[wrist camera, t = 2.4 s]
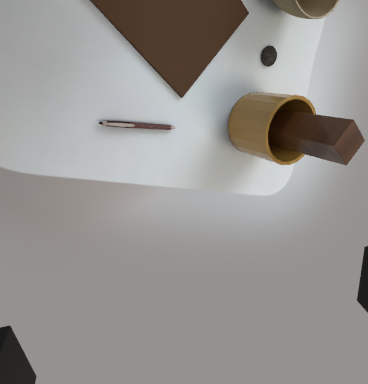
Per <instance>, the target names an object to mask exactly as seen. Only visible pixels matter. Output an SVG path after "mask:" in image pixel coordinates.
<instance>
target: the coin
mask: <svg viewBox="0 0 368 384" xmlns="http://www.w3.org/2000/svg"><path fill="white" fill-rule="evenodd" d="M276 58H277V52H276V49H275V48H274V47H273V46H267V47H266V48H265V49H264V50H263V52H262V62H263V64H264V65H266V66H271V65H273V64H274V63H275V61H276Z"/></svg>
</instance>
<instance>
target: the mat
mask: <svg viewBox="0 0 368 384" xmlns="http://www.w3.org/2000/svg"><path fill="white" fill-rule="evenodd" d="M91 1H92V2H93V4H94V5H95V6H96V7H97V8H98V9H99V10H100V11H101V12H102V13H103V14H104V15H105V16H106V17H107V19H108V20H109V21H110V22H111V23H112V24H113V25H114V26H115V27H116V28H117V29H118V30H119V31H120V32H121V34H122V35H123V36H124V37H125V38H126V39H127V40H128V41H129V42H130V43H131V44H132V45H133V46H134V47H135V49H136V50H137V51H138V52H139V53H140V54H141V55H142V56H143V57H144V58H145V59H146V60H147V61H148V62H149V64H150V65H151V66H152V67H153V68H154V69H155V70H156V71H157V72H158V73H159V74H160V75H161V76H162V78H163V79H164V80H165V81H166V82H167V83H168V84H169V85H170V86H171V87H172V88H173V89H174V90H175V91H176V93H177V94H178V95H179V96H180V97H183V96H184V95H185V94H186V92H187V91H188V90H189V88H190V87H191V86H192V85H193V83H194V82H195V81H196V80H197V78H198V77H199V76H200V75H201V73H202V72H203V71H204V69H205V68H206V67H207V66H208V64H209V63H210V62H211V61H212V59H213V58H214V57H215V56H216V54H217V53H218V52H219V50H220V49H221V48H222V47H223V45H224V44H225V43H226V42H227V40H228V39H229V38H230V36H231V35H232V34H233V33H234V31H235V30H236V29H237V28H238V26H239V25H240V24H241V23H242V21H243V20H244V19H245V17H246V16H247V15H248V14H249V12H248V11H247V9H246V8H245V6H244V4H243V3H242V1H241V0H91Z"/></svg>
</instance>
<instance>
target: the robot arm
mask: <svg viewBox="0 0 368 384" xmlns="http://www.w3.org/2000/svg"><path fill="white" fill-rule="evenodd" d="M357 301H358V302H359V303H360V304H361V305H362V307H363V308H364V309H365V310H366V311H367V312H368V246H367V247H365V250H364V256H363V263H362V270H361V277H360V284H359V291H358V298H357ZM35 380H36V375H35V373H34V371H33V369H32V367H31V365H30V363H29V361H28V359H27V357H26V355H25V353H24V352H23V350H22V348H21V346H20V344H19V342H18V340H17V338H16V336H15V334H14V332H13V331H12V328H11V327H10V326H6V327H1V328H0V384H35Z"/></svg>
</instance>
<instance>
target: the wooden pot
mask: <svg viewBox="0 0 368 384" xmlns="http://www.w3.org/2000/svg"><path fill="white" fill-rule="evenodd" d="M277 110H285V111H293V112H300V113H307V114H315V115H316V112H315V108H314V107H313V105H312V103H311V102H310V101H309V100H308V99H306V98H305V97H304V96H298V95H287V94H275V93H263V92H253V93H249V94H247V95H245V96H243V97H242V98H241V99H240V100H239V101H238V102H237V103H236V104H235V106H234V107H233V109H232V111H231V114H230V117H229V122H228V132H229V137H230V139H231V142H232V143H233V145H234V146H235V147H236V148H237V149H238V150H240V151H242V152H245V153H247V154H250V155H253V156H256V157H259V158H262V159H265V160H268V161H271V162H274V163H277V164H280V165H290V164H292V163H295V162H297V161H298V160H299V159H301V158H302V157H303V156H304V155H305V154H303V153H299V152H295V151H292V150H288V149H284V148H280V147H277V146H273V145H269V144H268V131H269V126H270V123H271V120H272V118H273V116H274V114H275V113H276V111H277Z"/></svg>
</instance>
